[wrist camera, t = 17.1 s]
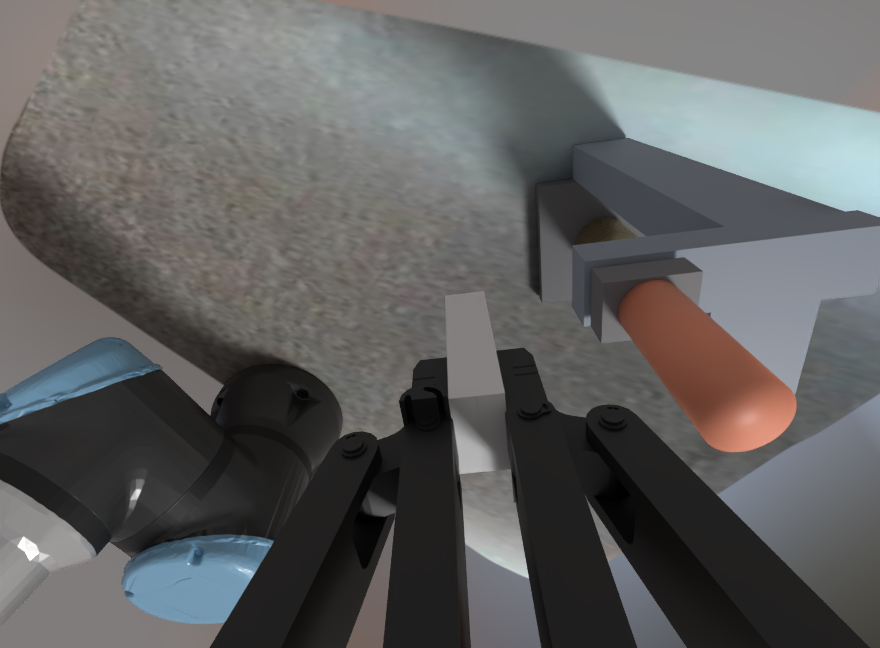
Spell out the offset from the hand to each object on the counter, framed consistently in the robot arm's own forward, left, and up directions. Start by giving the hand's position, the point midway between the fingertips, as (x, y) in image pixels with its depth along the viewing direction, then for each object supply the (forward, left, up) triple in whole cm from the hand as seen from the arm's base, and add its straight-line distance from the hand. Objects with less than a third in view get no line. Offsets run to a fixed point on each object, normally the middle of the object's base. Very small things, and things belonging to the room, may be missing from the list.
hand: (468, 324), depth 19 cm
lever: (+7, 0, -1) cm, 7 cm away
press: (+12, -6, -29) cm, 32 cm away
